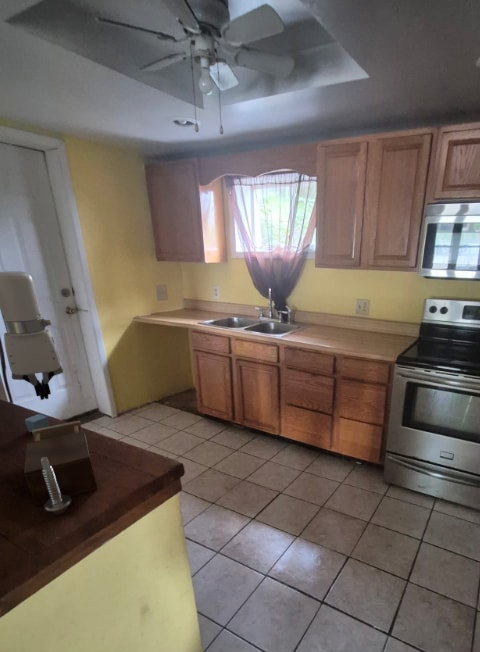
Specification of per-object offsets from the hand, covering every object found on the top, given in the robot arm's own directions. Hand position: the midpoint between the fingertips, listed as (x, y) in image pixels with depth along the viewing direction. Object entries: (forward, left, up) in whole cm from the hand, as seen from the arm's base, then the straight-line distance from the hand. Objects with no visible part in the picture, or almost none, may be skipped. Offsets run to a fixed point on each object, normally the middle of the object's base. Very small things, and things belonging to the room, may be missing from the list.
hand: (44, 397), depth 95 cm
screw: (0, -31, -14) cm, 34 cm away
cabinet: (+1, -20, -14) cm, 25 cm away
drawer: (+1, -8, -13) cm, 15 cm away
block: (-4, +13, -14) cm, 19 cm away
